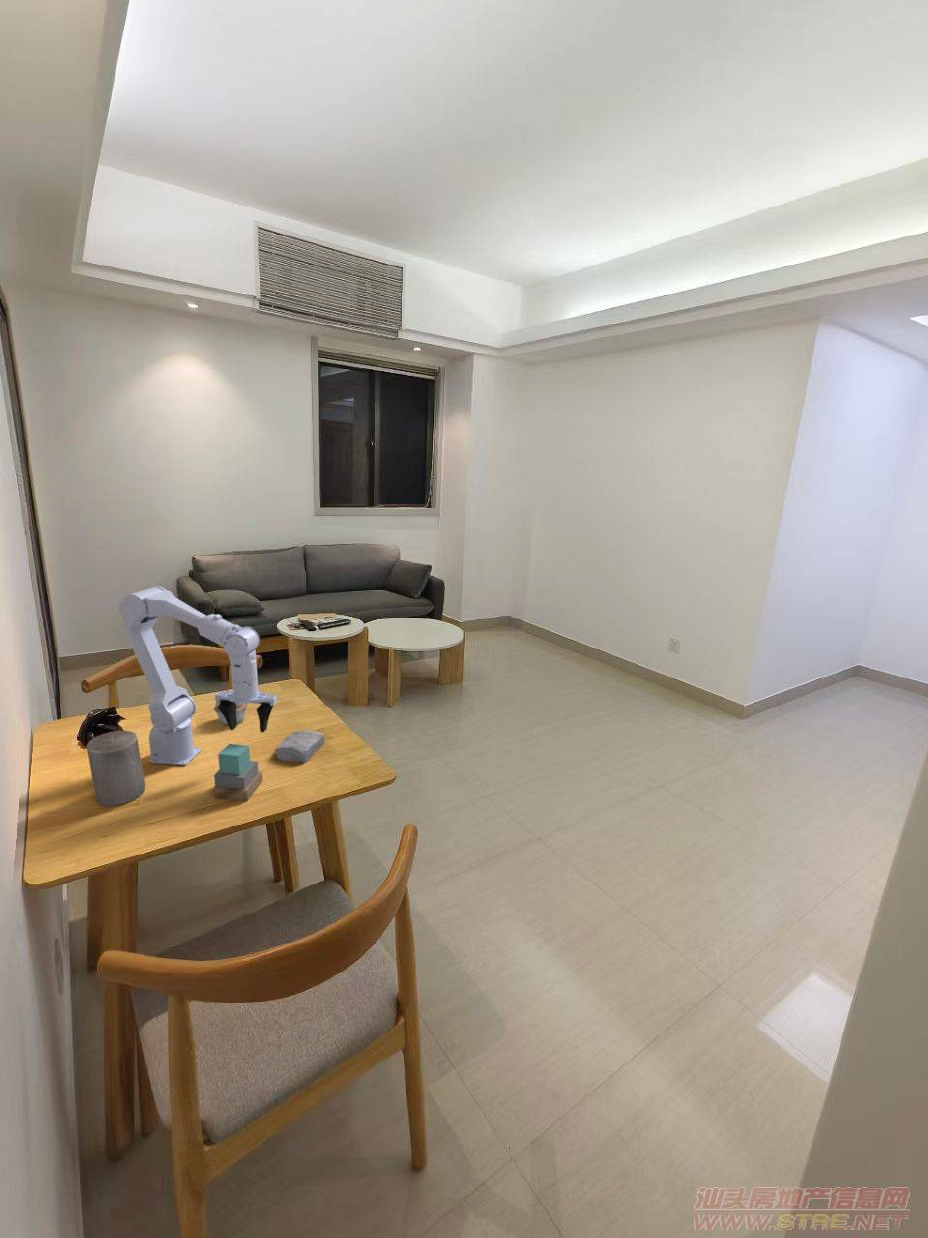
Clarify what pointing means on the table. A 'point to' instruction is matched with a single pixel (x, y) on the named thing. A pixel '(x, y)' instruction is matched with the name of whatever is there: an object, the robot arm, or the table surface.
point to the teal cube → (234, 759)
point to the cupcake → (239, 712)
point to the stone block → (299, 746)
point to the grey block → (237, 777)
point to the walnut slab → (238, 790)
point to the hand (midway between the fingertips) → (248, 729)
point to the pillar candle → (116, 768)
